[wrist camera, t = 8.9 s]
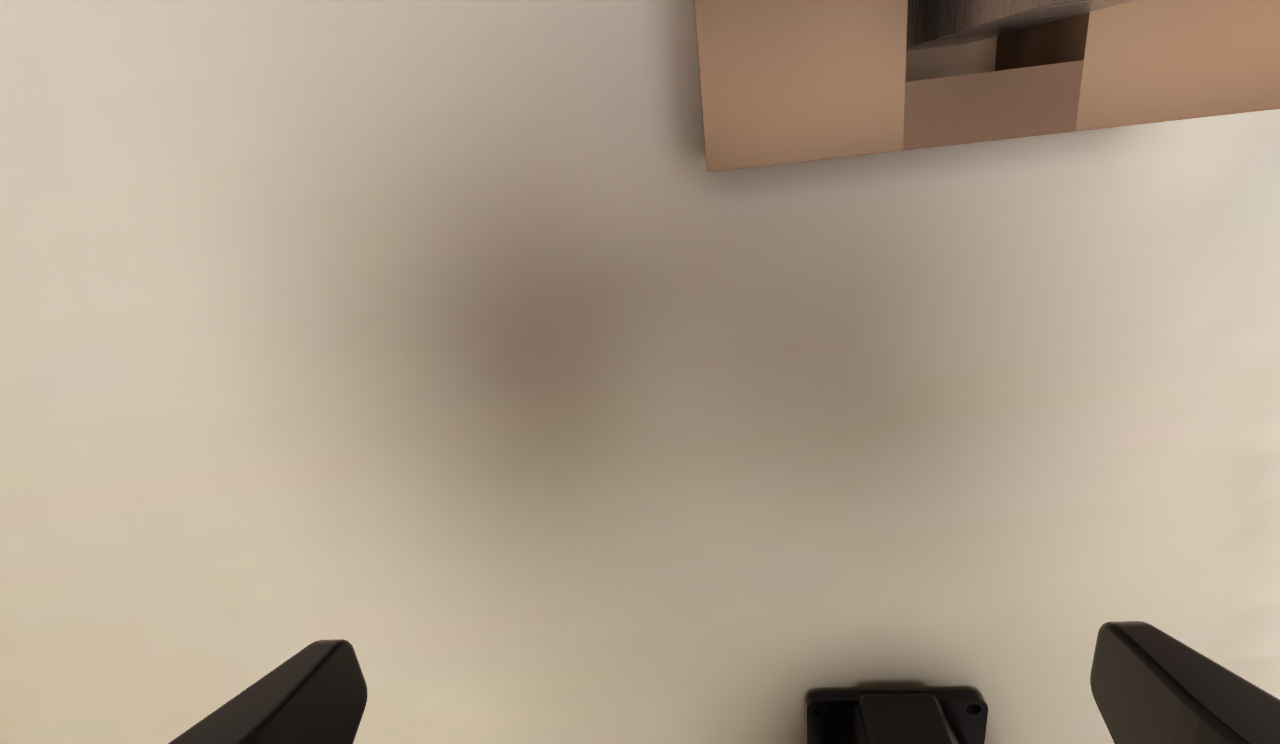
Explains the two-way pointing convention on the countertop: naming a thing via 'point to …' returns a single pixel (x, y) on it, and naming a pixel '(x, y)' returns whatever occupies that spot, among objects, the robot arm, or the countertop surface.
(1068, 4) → the gray concrete slab
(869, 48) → the post block
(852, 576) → the countertop surface
